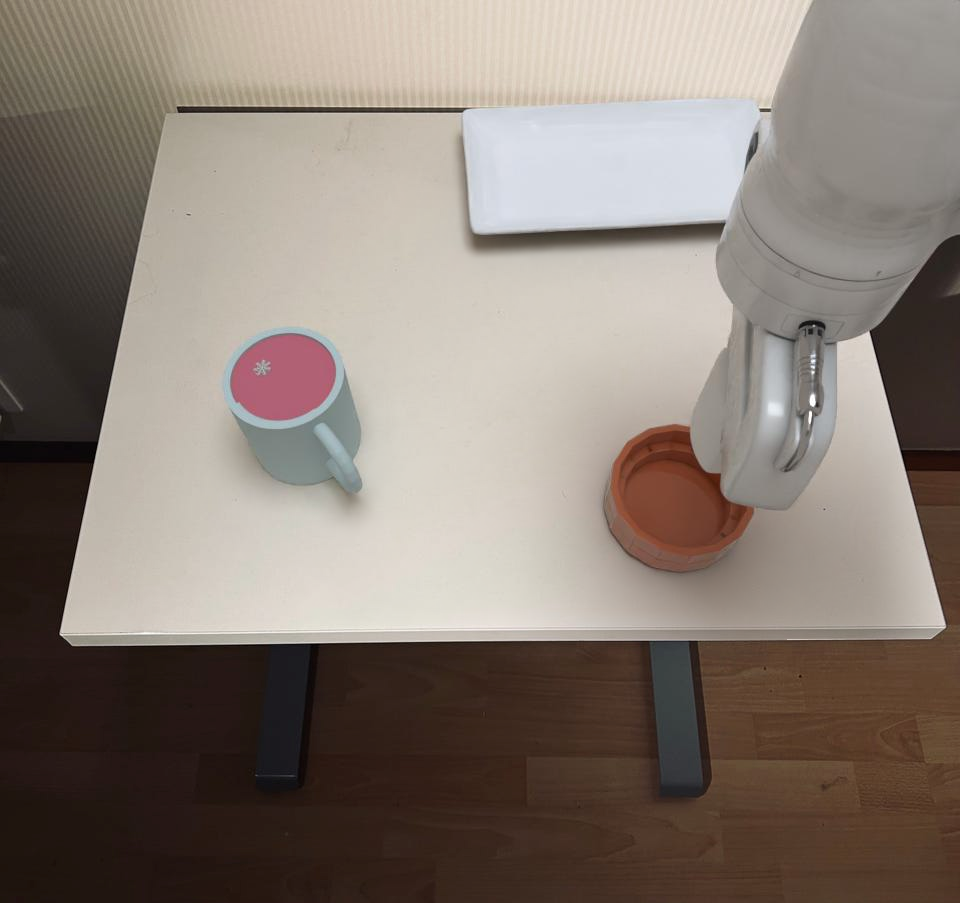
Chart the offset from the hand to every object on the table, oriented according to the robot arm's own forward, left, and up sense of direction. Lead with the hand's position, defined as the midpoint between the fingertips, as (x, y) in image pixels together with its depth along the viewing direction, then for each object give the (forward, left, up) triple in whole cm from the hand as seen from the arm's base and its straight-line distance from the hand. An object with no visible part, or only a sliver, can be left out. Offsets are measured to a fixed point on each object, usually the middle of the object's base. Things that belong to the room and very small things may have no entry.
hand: (736, 397), depth 50 cm
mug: (+30, +1, -19) cm, 35 cm away
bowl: (0, 0, -18) cm, 18 cm away
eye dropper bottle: (0, 0, -6) cm, 6 cm away
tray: (+9, -36, -19) cm, 41 cm away
